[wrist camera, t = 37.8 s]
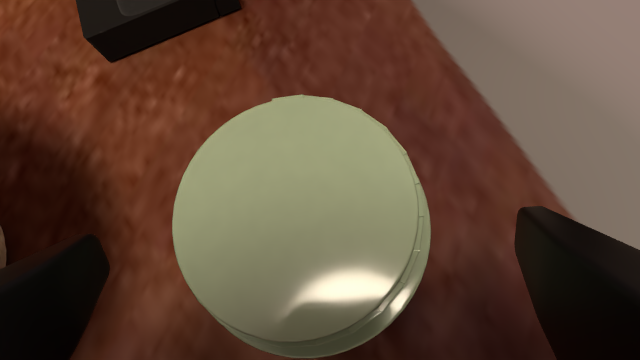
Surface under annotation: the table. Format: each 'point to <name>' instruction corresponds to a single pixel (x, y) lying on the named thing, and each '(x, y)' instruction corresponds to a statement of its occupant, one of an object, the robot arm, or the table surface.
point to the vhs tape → (143, 21)
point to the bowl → (2, 250)
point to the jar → (302, 227)
